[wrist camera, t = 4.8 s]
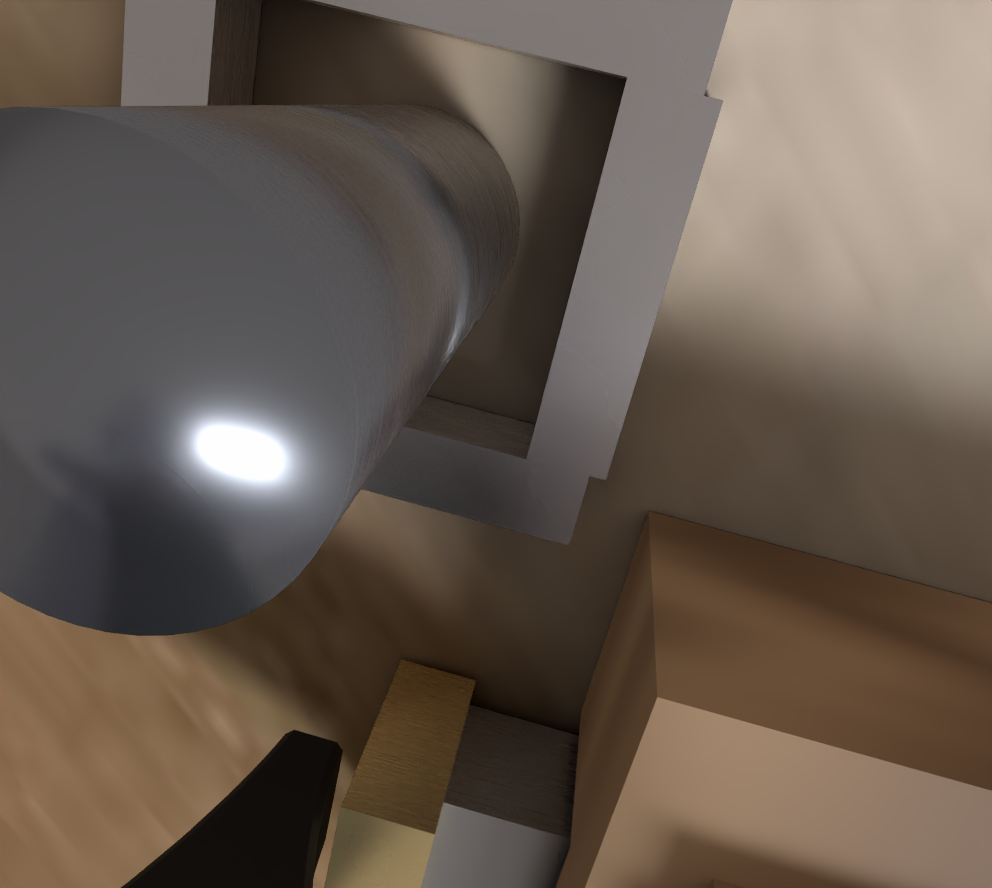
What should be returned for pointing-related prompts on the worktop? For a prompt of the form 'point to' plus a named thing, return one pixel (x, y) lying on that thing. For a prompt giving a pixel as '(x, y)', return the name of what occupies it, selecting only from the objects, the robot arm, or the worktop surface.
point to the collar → (606, 249)
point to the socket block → (782, 725)
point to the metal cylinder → (220, 338)
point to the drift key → (454, 794)
